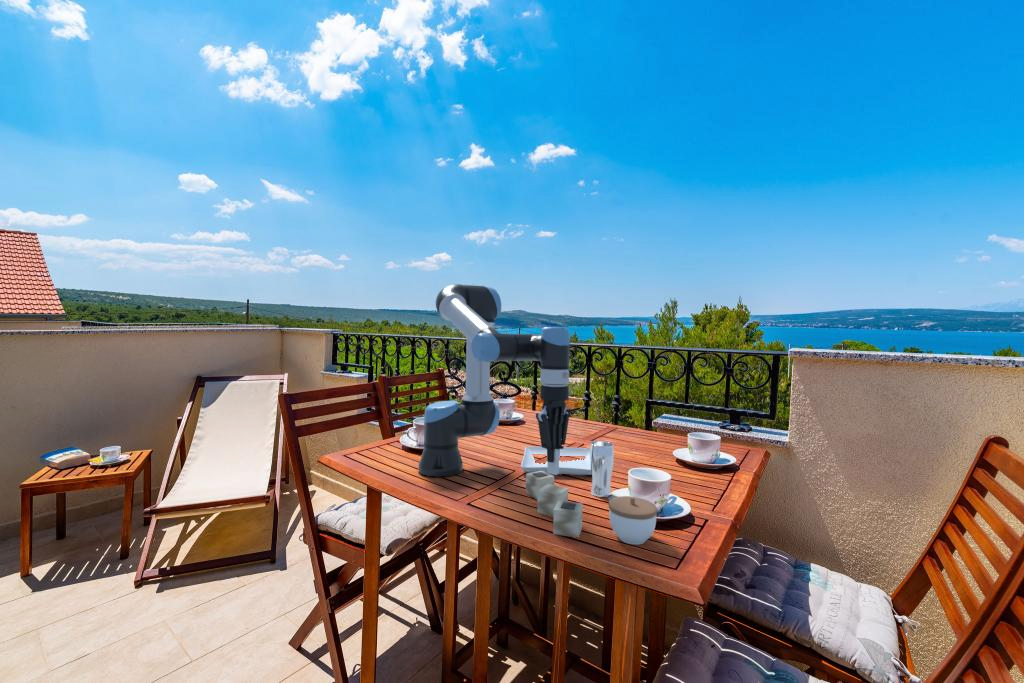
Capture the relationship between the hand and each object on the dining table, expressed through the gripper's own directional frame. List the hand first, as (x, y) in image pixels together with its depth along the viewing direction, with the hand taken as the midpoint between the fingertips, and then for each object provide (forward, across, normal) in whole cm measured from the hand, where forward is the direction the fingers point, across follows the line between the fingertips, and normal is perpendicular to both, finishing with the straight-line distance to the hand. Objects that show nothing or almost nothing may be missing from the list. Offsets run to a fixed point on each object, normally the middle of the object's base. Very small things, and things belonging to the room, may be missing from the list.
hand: (553, 473), depth 108 cm
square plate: (+11, +34, +22) cm, 42 cm away
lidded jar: (+10, +1, -22) cm, 24 cm away
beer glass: (+10, +20, -3) cm, 23 cm away
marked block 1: (+10, +7, +10) cm, 16 cm away
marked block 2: (+10, -6, -9) cm, 15 cm away
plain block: (+10, 0, 0) cm, 10 cm away
